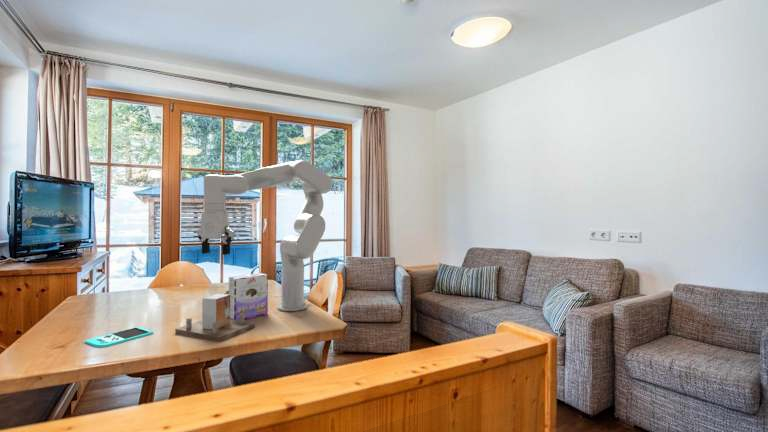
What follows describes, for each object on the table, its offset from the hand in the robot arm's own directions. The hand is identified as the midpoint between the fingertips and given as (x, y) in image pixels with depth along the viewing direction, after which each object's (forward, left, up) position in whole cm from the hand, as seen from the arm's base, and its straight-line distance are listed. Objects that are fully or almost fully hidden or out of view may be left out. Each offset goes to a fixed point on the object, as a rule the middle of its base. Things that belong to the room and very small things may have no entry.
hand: (215, 253), depth 138 cm
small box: (+7, +7, -25) cm, 26 cm away
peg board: (+7, +7, -26) cm, 28 cm away
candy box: (-11, +5, -26) cm, 29 cm away
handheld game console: (+25, -15, -27) cm, 39 cm away
